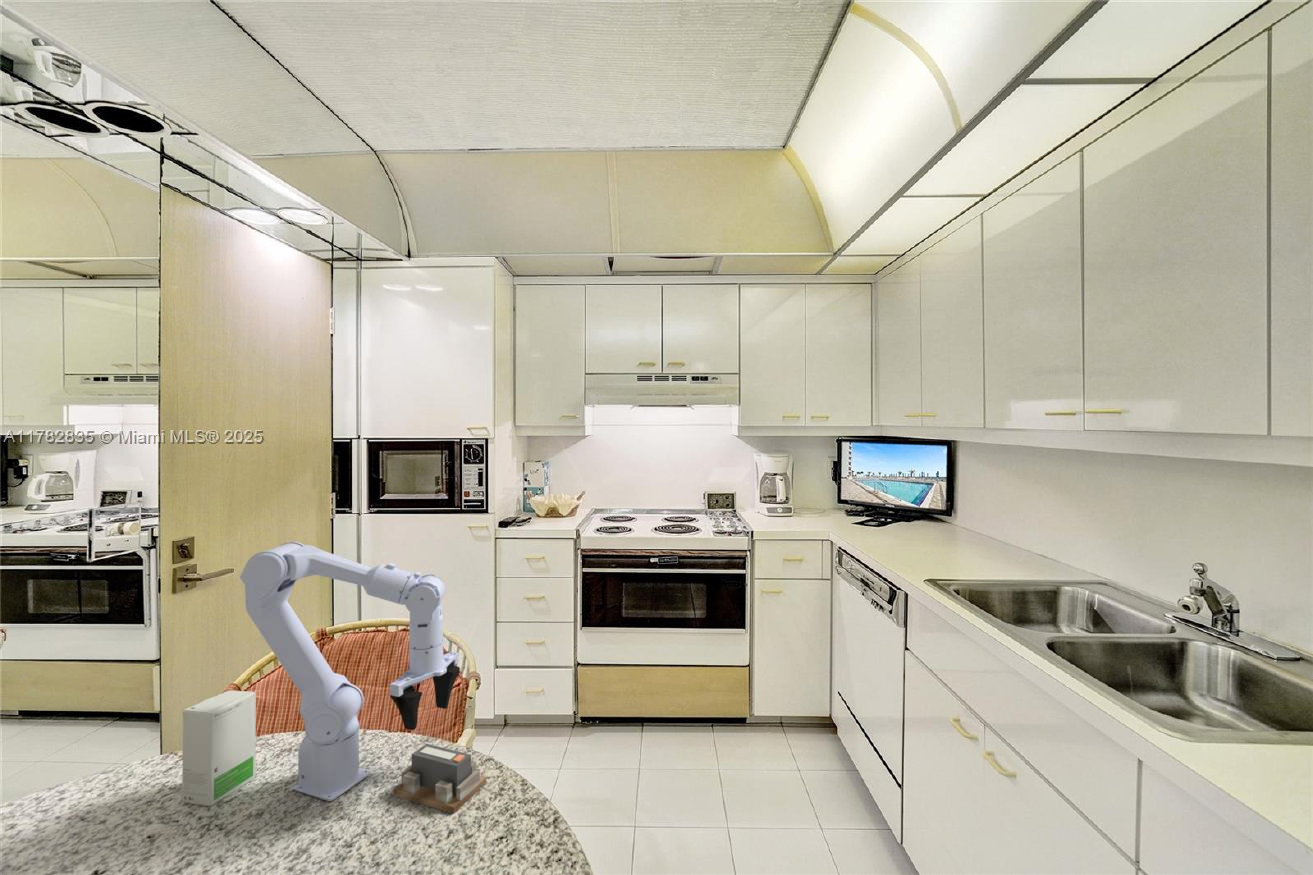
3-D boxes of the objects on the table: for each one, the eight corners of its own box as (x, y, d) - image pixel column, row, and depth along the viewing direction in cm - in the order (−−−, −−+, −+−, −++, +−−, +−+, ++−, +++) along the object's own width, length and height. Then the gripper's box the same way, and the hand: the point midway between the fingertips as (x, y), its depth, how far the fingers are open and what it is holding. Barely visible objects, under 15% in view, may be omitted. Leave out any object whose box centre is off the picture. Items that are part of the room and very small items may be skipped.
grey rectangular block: (411, 783, 89) (411, 752, 89) (426, 771, 93) (426, 742, 93) (457, 796, 86) (457, 764, 86) (471, 783, 89) (470, 753, 89)
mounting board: (393, 795, 88) (393, 774, 88) (429, 767, 95) (429, 748, 95) (453, 813, 83) (453, 792, 83) (486, 782, 91) (486, 763, 91)
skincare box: (209, 808, 85) (209, 714, 85) (178, 803, 86) (178, 711, 87) (258, 776, 93) (258, 690, 94) (228, 772, 95) (228, 687, 95)
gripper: (411, 662, 86) (412, 743, 86) (470, 632, 100) (471, 702, 100) (380, 656, 89) (380, 735, 89) (442, 628, 102) (442, 696, 102)
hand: (426, 717), depth 94 cm, fingers open, 7 cm apart
